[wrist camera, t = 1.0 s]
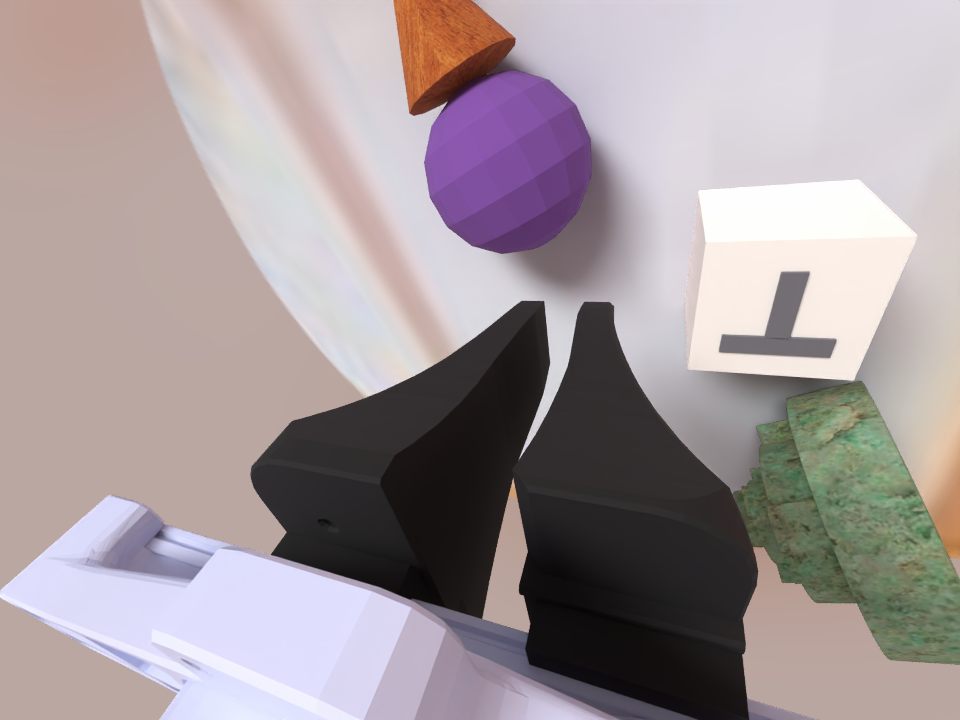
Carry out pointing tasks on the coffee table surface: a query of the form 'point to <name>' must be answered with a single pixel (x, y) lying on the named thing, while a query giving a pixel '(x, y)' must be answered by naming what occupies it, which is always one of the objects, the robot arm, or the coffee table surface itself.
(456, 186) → the kendama
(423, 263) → the coffee table surface
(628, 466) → the robot arm
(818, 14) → the coffee table surface
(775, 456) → the decorative artifact
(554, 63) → the coffee table surface
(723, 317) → the letter cube
